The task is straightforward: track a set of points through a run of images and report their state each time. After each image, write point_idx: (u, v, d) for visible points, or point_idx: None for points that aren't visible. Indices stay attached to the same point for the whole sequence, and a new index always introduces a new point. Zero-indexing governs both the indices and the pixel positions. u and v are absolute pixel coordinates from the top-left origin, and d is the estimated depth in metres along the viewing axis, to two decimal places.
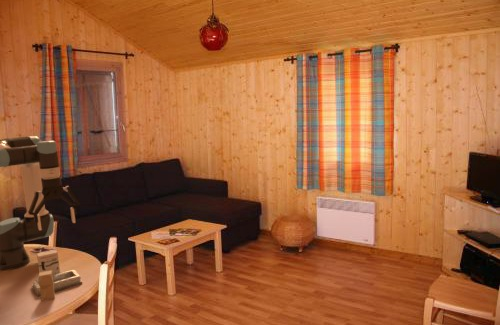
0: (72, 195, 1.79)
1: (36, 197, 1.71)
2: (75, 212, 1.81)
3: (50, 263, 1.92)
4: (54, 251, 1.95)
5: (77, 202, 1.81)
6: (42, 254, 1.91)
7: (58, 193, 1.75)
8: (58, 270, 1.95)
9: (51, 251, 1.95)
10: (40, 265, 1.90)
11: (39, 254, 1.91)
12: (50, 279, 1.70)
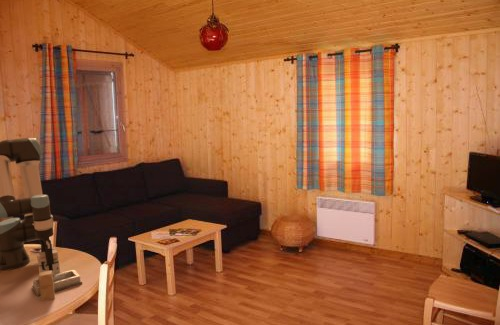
0: (46, 253, 1.88)
1: None
2: (49, 269, 1.91)
3: None
4: (54, 251, 1.95)
5: (47, 261, 1.89)
6: (42, 254, 1.91)
7: (41, 244, 1.90)
8: (58, 270, 1.95)
9: None
10: (40, 265, 1.90)
11: (39, 254, 1.91)
12: (50, 279, 1.70)
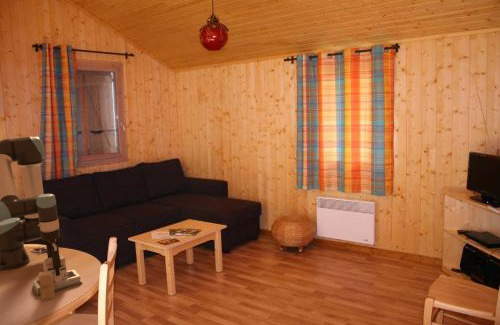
0: (53, 256, 1.76)
1: (46, 245, 1.85)
2: (56, 273, 1.79)
3: None
4: (61, 257, 1.83)
5: (54, 265, 1.77)
6: (49, 260, 1.80)
7: (48, 247, 1.79)
8: (65, 277, 1.84)
9: None
10: None
11: (45, 260, 1.80)
12: (50, 279, 1.70)
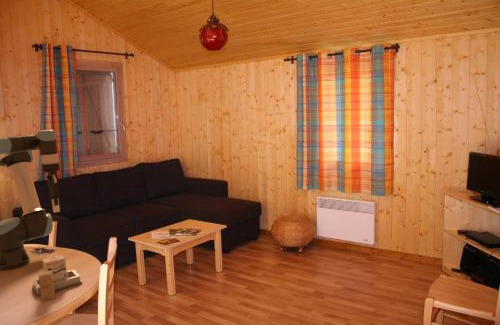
0: (52, 187, 1.91)
1: None
2: (54, 203, 1.95)
3: (57, 270, 1.81)
4: (61, 257, 1.83)
5: (53, 195, 1.92)
6: (49, 260, 1.80)
7: (48, 178, 1.92)
8: (65, 277, 1.84)
9: (58, 257, 1.83)
10: None
11: (45, 260, 1.80)
12: (50, 279, 1.70)
